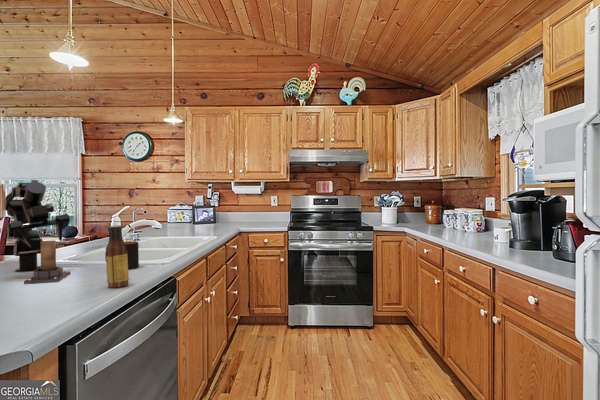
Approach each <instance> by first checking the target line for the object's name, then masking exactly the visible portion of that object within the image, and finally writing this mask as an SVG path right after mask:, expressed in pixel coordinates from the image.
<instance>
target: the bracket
mask: <svg viewBox="0 0 600 400" xmlns="http://www.w3.org/2000/svg"><path fill="white" fill-rule="evenodd" d="M63 270H64V268H63V267H61V266H56V270H51V271H41V267H40V268H38V269H36V270H32V274H33V275H32V276H31V277H30V278H28V279H25V280H24V281H23V284H24V285H33V284H47V283H59V282H60V281H63V278H64V279H65V278H67V277H68V276H70V275H71V271H66V270H65V271H63ZM66 276H67V277H66Z"/></svg>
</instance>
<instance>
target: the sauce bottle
mask: <svg viewBox="0 0 600 400" xmlns="http://www.w3.org/2000/svg"><path fill="white" fill-rule="evenodd" d="M107 231H108V235H109V238H108V243H107V245H106V247H105V253H106V259H105V263H106V277H107V279H106V280H107V285H108V286H107V287H109V288H115V289H116V288H123V287H126V286H128V285H129V280H130V277H129V276H130V275H129V270H128V258H127V249H126V246H125V245H124V242H125V241H124V239H123V226H122V225H110V226H108V227H107Z"/></svg>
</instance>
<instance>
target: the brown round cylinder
mask: <svg viewBox="0 0 600 400" xmlns="http://www.w3.org/2000/svg"><path fill="white" fill-rule="evenodd" d="M56 245H57V240H53V239H52V240H43V241H41V254H40V266H41V267H40V268H41V271H51V270H56V267H57V260H56V259H57V246H56Z"/></svg>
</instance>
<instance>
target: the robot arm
mask: <svg viewBox="0 0 600 400" xmlns="http://www.w3.org/2000/svg"><path fill="white" fill-rule="evenodd" d="M46 190H47V187H46V186H45V184H44V183H41V182H39V180H38V179H31V181H30V182H19V183H18V184H17V185H16V186H14V187H11V191H10V192H9V193H8V194H7V195H6V196H5V198H4V204H3V205H4V211H6V213H7V215H8V216H10V217H11V218H13V220H14V221H11V222H8V223H7V226H6V233H7V237H9V238H12V237H13V238H14V239H16V240H15V241H14V244H13V245H14V246H13V256H14V257H18V263H19V264H18V265H19V267H18V268H17V269H15V270H14V271H15V272H28V271H29V272H30V271H31V272H33V271H34V270H36V269H40V268H41V265H38V254H40V255H41V241H44V240H43V238H41V236H40V232H39V231H38V230H36V229H37V228H44V227H50V226H55V228H56V233H57V237H58V240H59V241H60V242H62V241H63V230H65V229H66V228H67V227H69V225H70V221H71V218H70V216H69V214H67V213H65V214H64V213H63V214H59V215H58V214H57V215H55V219H50V220H49V217H50V216H49V214H50V213H54V212H55V208H54V205H53V203H52V202H51V203H50V202H49V203H46V204H45V205H44V204H42V202H43V199H44V197H45V193H46ZM15 197H16V198H17V197H19V198H22V199H14V198H15ZM33 229H34V230H33Z"/></svg>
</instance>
